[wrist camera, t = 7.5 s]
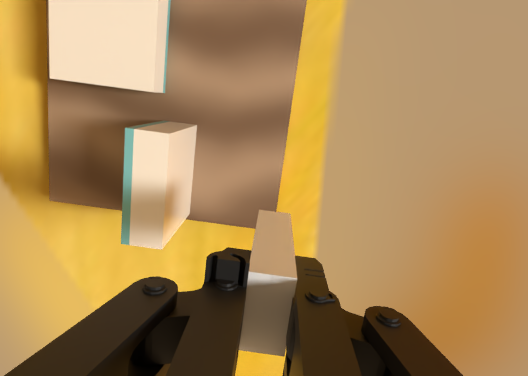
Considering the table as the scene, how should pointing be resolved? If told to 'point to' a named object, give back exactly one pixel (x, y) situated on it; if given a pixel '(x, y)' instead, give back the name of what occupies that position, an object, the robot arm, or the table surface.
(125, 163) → the tile
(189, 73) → the walnut board
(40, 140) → the table surface
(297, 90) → the table surface
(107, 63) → the tile
